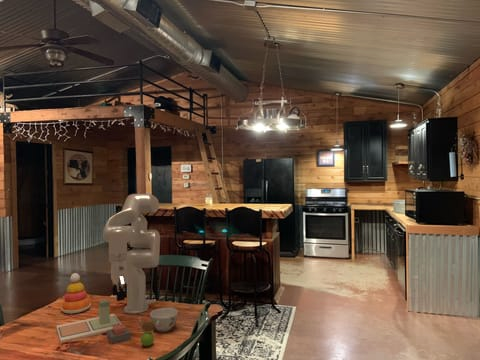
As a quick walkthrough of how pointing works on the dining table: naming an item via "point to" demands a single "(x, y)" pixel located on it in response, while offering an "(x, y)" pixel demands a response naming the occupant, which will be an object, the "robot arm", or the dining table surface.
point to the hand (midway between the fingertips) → (118, 297)
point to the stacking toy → (75, 297)
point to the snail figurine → (146, 332)
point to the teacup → (164, 318)
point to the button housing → (118, 336)
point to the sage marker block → (104, 312)
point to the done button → (118, 329)
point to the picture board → (84, 328)
